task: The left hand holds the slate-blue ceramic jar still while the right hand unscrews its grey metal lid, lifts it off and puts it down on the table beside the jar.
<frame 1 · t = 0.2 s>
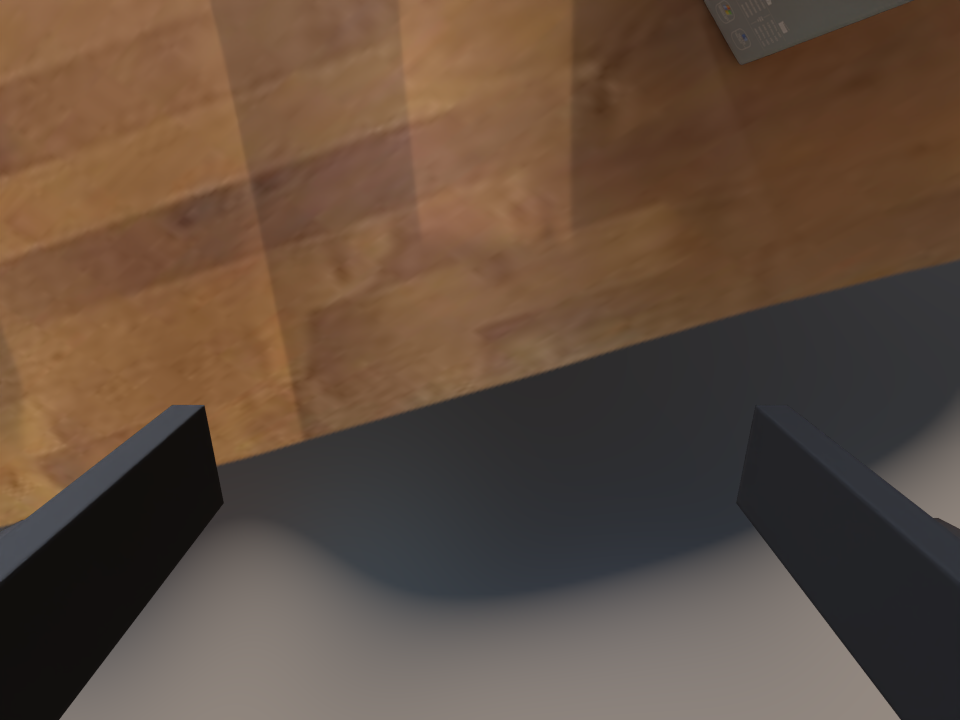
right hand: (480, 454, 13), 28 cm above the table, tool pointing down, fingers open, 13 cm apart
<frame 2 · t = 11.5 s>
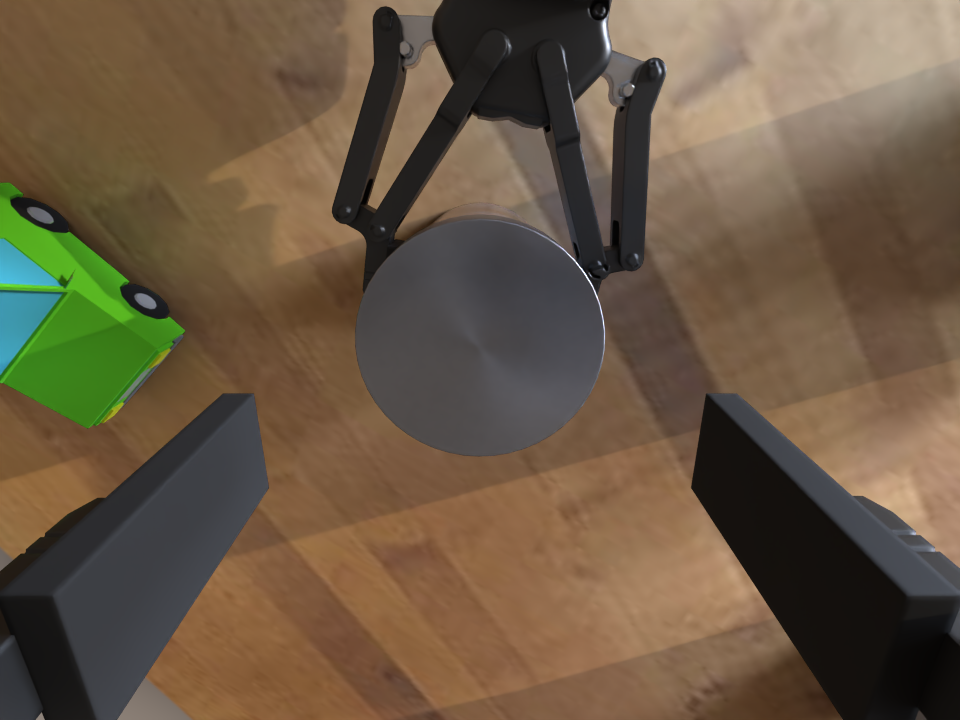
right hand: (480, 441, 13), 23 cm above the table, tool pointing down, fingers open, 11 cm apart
left hand: (467, 368, 31), fingers closed on jar, 9 cm apart
lid: (480, 344, 21), point 15 cm above the table, screwed on, not yet turned
green blue-banded case: (86, 300, 36), on the table
jar: (480, 271, 35), on the table, touching left hand
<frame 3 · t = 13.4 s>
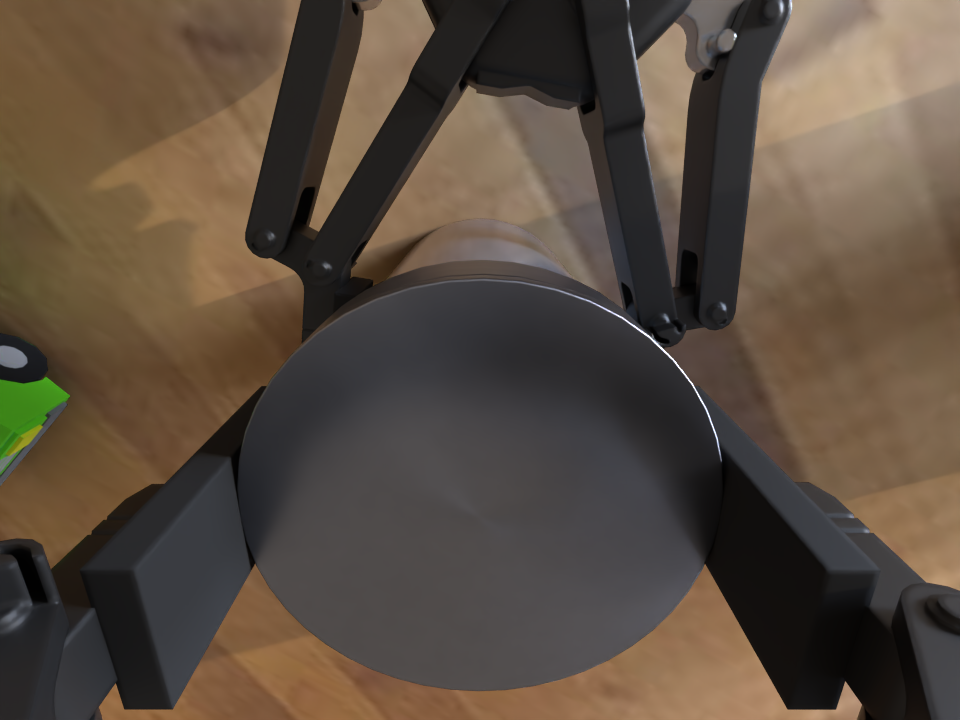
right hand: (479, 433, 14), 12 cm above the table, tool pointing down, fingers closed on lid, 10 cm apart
left hand: (461, 464, 21), fingers closed on jar, 9 cm apart
lid: (480, 506, 11), point 15 cm above the table, screwed on, not yet turned, touching right hand
jar: (480, 313, 25), on the table, touching left hand
when the right hand's fingers open (0 cm above the table, at t = 22.7 s): lid drops 2 cm, point 2 cm above the table.
when the left hand's fingers open (6 cm above the table, at t = 23.7 s): jar stays where it is, on the table.
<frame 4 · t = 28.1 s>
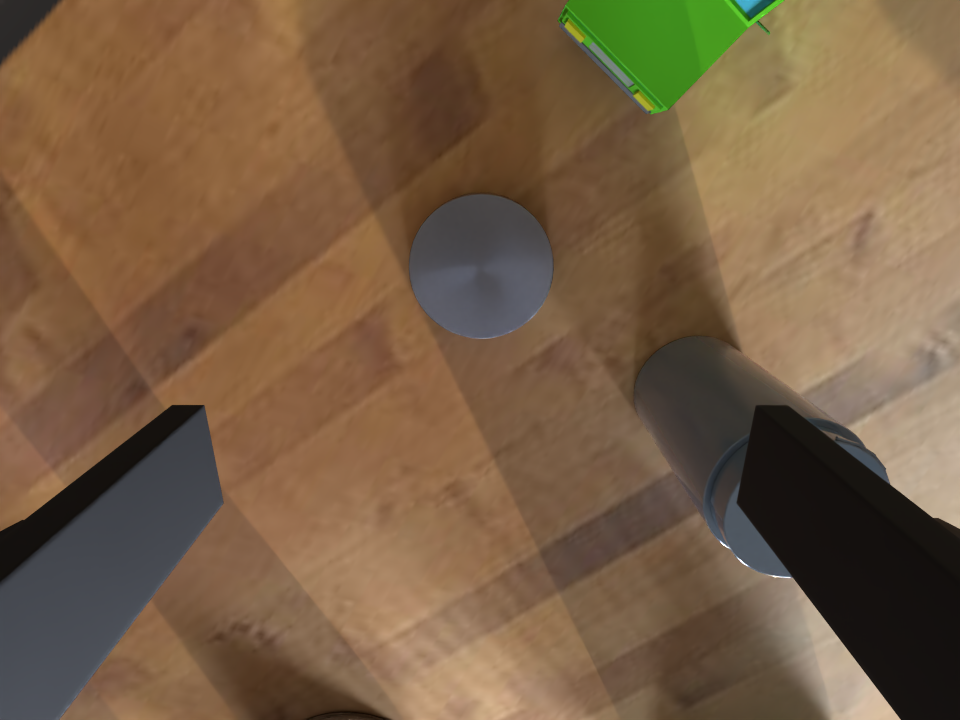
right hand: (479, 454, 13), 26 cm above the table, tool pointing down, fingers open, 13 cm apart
lid: (481, 268, 36), point 2 cm above the table, off its thread
jar: (691, 390, 40), on the table
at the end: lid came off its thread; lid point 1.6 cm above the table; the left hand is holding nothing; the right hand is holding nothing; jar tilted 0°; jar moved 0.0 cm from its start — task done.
